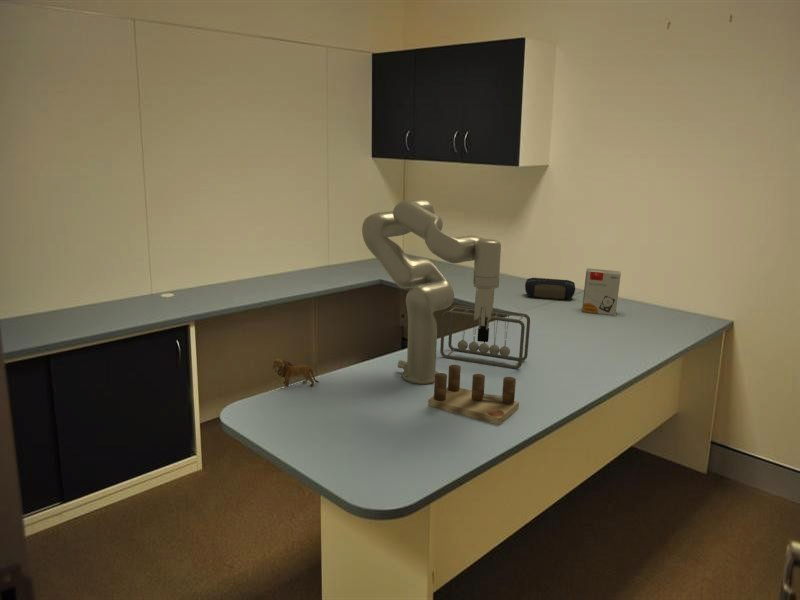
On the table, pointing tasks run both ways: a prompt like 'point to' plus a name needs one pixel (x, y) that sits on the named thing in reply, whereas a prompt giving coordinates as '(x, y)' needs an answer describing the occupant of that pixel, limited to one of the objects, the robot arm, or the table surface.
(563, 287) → the portable speaker
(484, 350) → the newton's cradle
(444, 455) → the table surface
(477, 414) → the stool seat
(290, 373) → the lion figurine
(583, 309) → the hard drive box
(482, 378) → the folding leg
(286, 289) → the table surface
